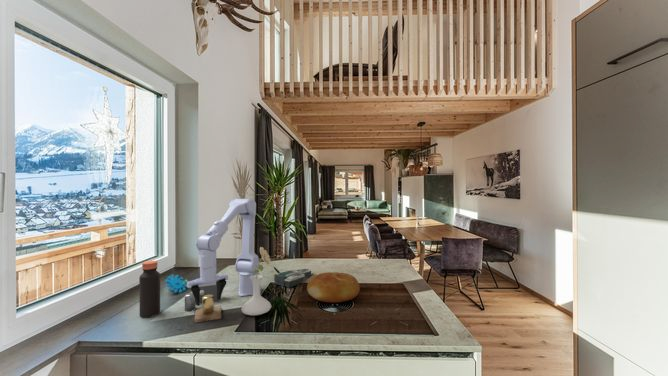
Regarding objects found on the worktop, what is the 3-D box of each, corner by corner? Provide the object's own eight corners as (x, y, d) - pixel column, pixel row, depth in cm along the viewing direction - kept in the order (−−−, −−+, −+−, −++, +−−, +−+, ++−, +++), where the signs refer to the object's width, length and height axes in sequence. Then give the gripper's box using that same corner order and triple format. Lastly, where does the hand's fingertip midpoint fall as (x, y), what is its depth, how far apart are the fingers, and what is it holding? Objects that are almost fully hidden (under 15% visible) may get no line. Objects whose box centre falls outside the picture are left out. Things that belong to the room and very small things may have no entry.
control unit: (219, 296, 127) (219, 281, 127) (219, 301, 123) (219, 284, 123) (194, 300, 123) (194, 284, 123) (193, 304, 119) (193, 287, 119)
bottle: (155, 317, 107) (155, 264, 107) (135, 318, 106) (135, 265, 106) (163, 309, 114) (163, 259, 114) (144, 310, 113) (144, 260, 113)
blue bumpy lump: (172, 293, 127) (163, 275, 131) (164, 301, 128) (156, 283, 132) (193, 288, 137) (184, 271, 141) (185, 296, 139) (177, 279, 142)
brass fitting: (213, 309, 111) (213, 293, 111) (214, 313, 108) (214, 297, 108) (202, 311, 110) (202, 295, 110) (202, 315, 106) (202, 299, 106)
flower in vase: (260, 320, 104) (260, 252, 104) (234, 315, 108) (234, 250, 108) (279, 306, 117) (279, 245, 117) (255, 302, 121) (255, 243, 121)
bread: (325, 283, 145) (325, 264, 145) (367, 292, 133) (367, 271, 133) (297, 299, 125) (297, 276, 125) (344, 310, 113) (344, 285, 113)
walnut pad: (221, 308, 114) (221, 306, 114) (221, 318, 106) (221, 315, 106) (196, 312, 111) (196, 309, 111) (194, 322, 103) (194, 319, 103)
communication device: (318, 276, 158) (318, 260, 158) (290, 289, 138) (290, 270, 138) (300, 273, 164) (301, 257, 164) (271, 284, 144) (271, 267, 144)
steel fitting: (196, 306, 117) (196, 291, 117) (195, 310, 113) (195, 295, 113) (185, 308, 115) (185, 293, 115) (184, 312, 112) (184, 296, 112)
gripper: (223, 261, 116) (223, 294, 117) (184, 267, 107) (184, 304, 107) (230, 264, 111) (230, 299, 111) (190, 272, 102) (190, 310, 102)
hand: (208, 302), depth 109 cm, fingers open, 7 cm apart
